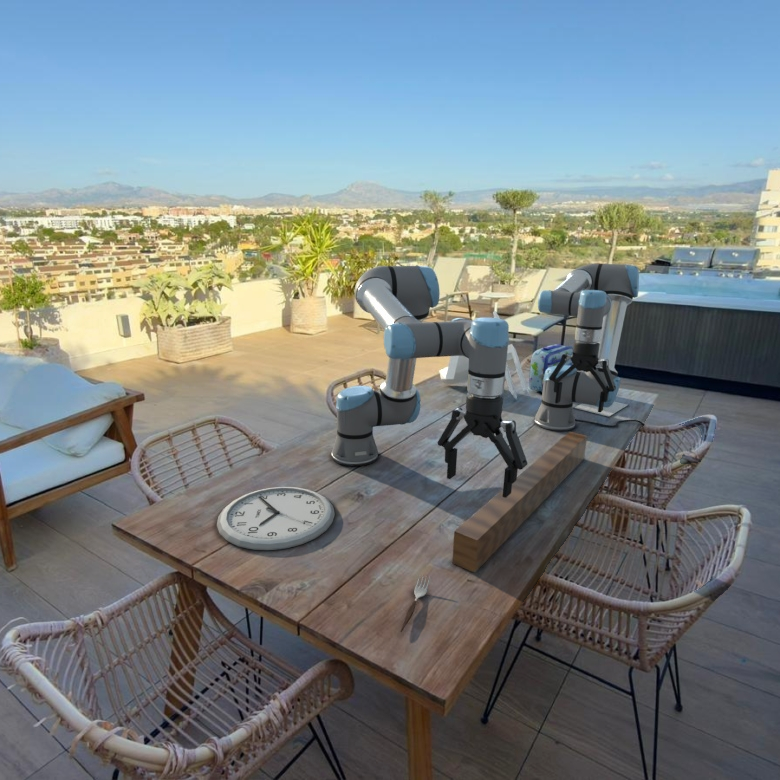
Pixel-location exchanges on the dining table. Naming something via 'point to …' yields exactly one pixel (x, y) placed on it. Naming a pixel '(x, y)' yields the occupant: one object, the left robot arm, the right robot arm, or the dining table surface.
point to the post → (515, 503)
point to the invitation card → (606, 410)
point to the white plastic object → (460, 366)
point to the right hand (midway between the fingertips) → (578, 406)
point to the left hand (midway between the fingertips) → (478, 485)
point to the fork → (418, 593)
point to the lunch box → (546, 363)
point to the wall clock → (275, 518)
